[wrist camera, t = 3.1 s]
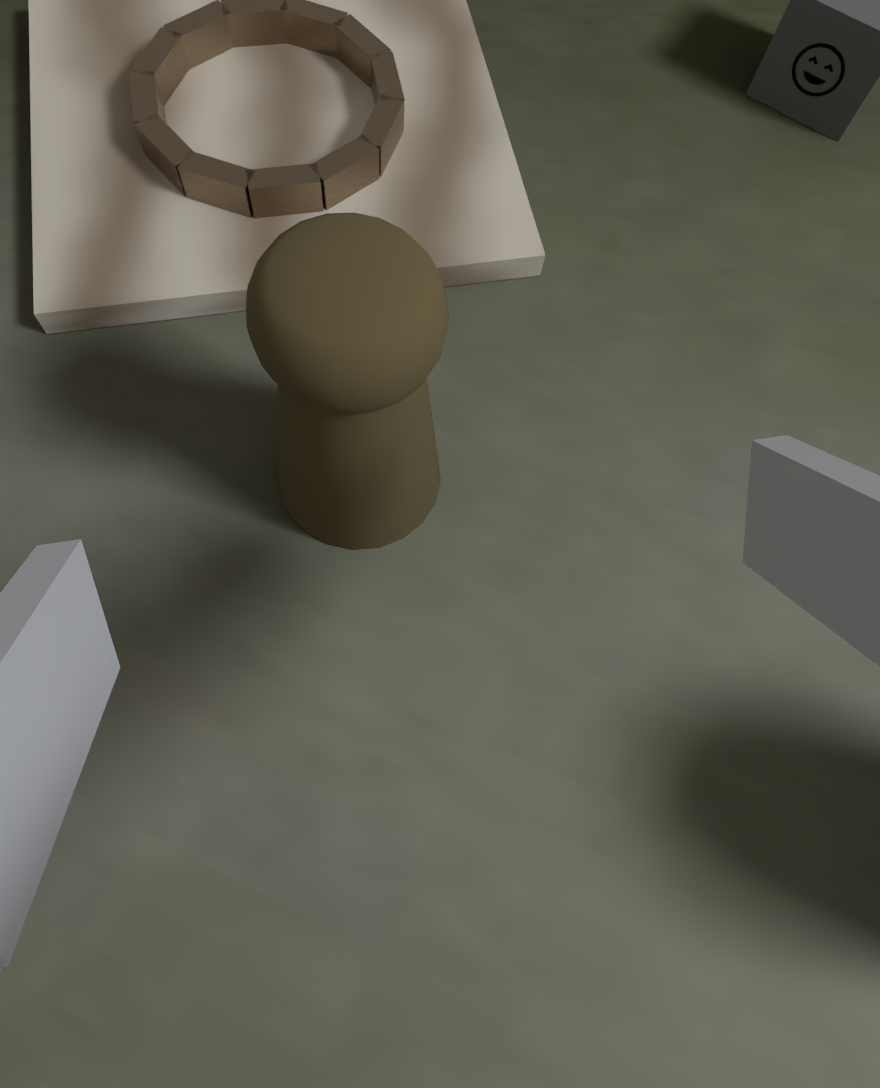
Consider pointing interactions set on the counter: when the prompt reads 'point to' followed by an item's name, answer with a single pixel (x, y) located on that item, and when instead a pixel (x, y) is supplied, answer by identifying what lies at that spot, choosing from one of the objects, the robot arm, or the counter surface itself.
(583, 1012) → the counter surface
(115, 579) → the counter surface
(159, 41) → the collar
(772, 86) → the dice cube
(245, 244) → the board
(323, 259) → the cork
